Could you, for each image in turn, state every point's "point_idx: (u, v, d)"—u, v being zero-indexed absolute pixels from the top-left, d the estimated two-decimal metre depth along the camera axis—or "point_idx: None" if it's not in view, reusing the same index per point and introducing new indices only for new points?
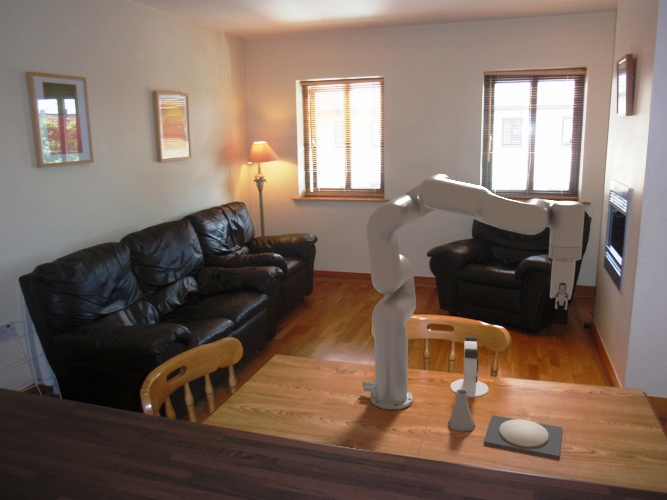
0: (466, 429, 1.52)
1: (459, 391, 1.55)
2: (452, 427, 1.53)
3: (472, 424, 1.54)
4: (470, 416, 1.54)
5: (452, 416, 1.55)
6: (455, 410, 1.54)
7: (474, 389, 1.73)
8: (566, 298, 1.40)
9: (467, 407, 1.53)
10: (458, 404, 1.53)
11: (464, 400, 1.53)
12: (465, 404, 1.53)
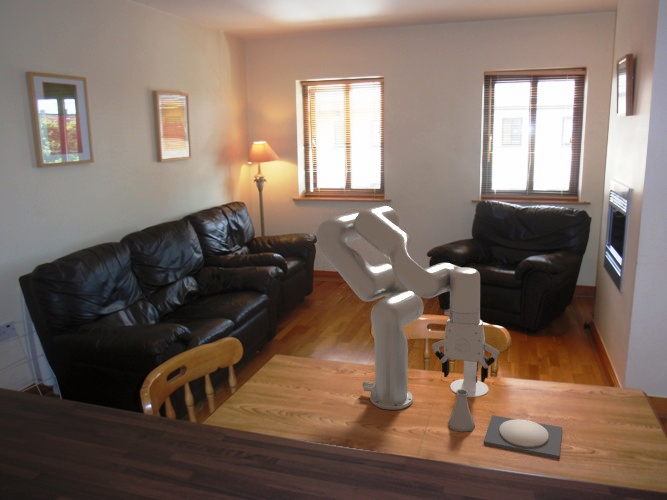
0: (466, 429, 1.52)
1: (459, 391, 1.55)
2: (452, 427, 1.53)
3: (472, 424, 1.54)
4: (470, 416, 1.54)
5: (452, 416, 1.55)
6: (455, 410, 1.54)
7: (474, 389, 1.73)
8: (483, 354, 1.50)
9: (467, 407, 1.53)
10: (458, 404, 1.53)
11: (464, 400, 1.53)
12: (465, 404, 1.53)
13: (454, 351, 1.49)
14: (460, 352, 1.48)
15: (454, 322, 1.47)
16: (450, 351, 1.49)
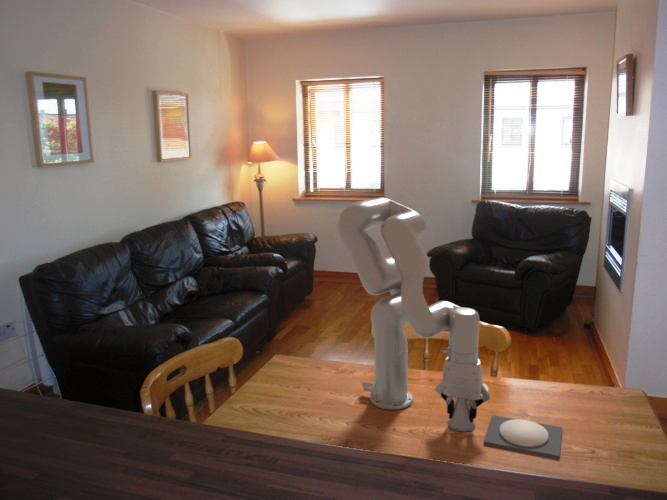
0: (466, 429, 1.52)
1: None
2: (452, 427, 1.53)
3: (472, 424, 1.54)
4: None
5: (452, 416, 1.55)
6: (455, 410, 1.54)
7: None
8: None
9: (467, 407, 1.53)
10: (458, 404, 1.53)
11: (464, 400, 1.53)
12: (465, 404, 1.53)
13: (452, 389, 1.51)
14: (458, 390, 1.51)
15: (452, 361, 1.49)
16: (448, 389, 1.52)
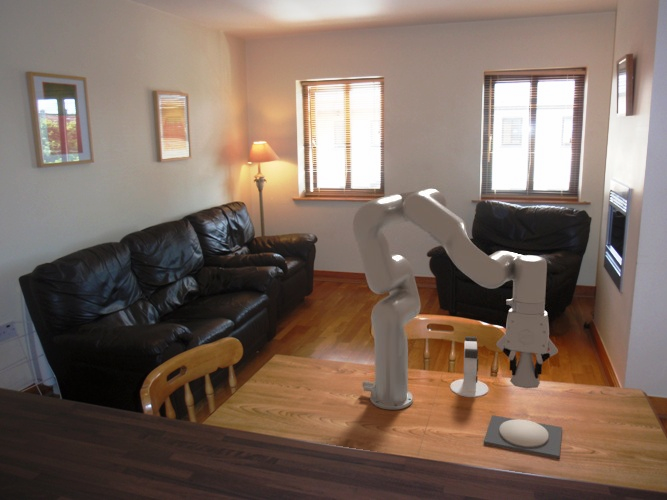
0: (531, 385, 1.43)
1: None
2: (516, 384, 1.44)
3: (537, 380, 1.44)
4: None
5: (515, 372, 1.45)
6: (519, 366, 1.44)
7: (474, 389, 1.73)
8: None
9: (532, 362, 1.44)
10: (522, 360, 1.44)
11: (529, 355, 1.43)
12: (530, 359, 1.43)
13: (516, 343, 1.42)
14: (523, 344, 1.41)
15: (518, 312, 1.40)
16: (512, 343, 1.42)
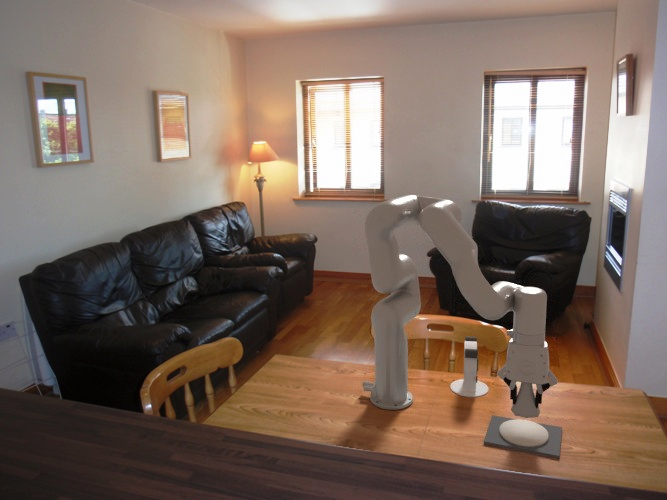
0: (532, 415, 1.44)
1: None
2: (516, 413, 1.45)
3: (538, 410, 1.46)
4: None
5: (516, 402, 1.47)
6: (519, 395, 1.46)
7: (474, 389, 1.73)
8: None
9: (532, 392, 1.45)
10: (522, 389, 1.45)
11: (529, 384, 1.45)
12: (530, 389, 1.45)
13: (517, 373, 1.43)
14: (523, 374, 1.43)
15: (518, 343, 1.41)
16: (512, 373, 1.44)
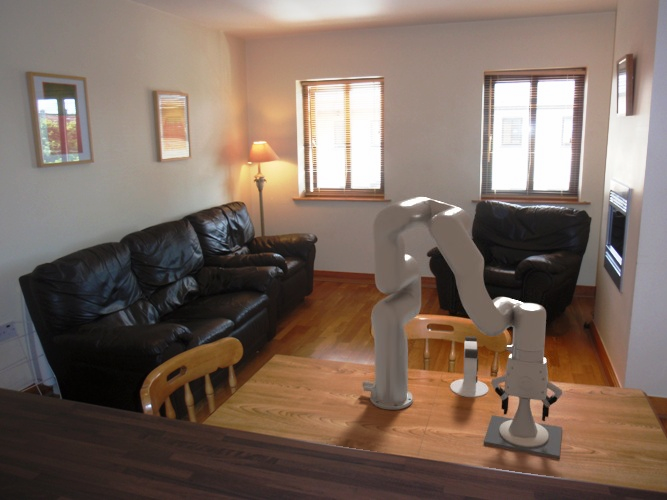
0: (529, 435, 1.46)
1: None
2: (514, 433, 1.47)
3: (535, 429, 1.47)
4: (533, 421, 1.47)
5: (514, 421, 1.48)
6: (517, 415, 1.47)
7: (474, 389, 1.73)
8: None
9: (530, 412, 1.47)
10: (520, 409, 1.47)
11: (527, 405, 1.46)
12: (528, 409, 1.46)
13: (516, 388, 1.44)
14: (522, 390, 1.44)
15: (517, 359, 1.42)
16: (511, 388, 1.45)
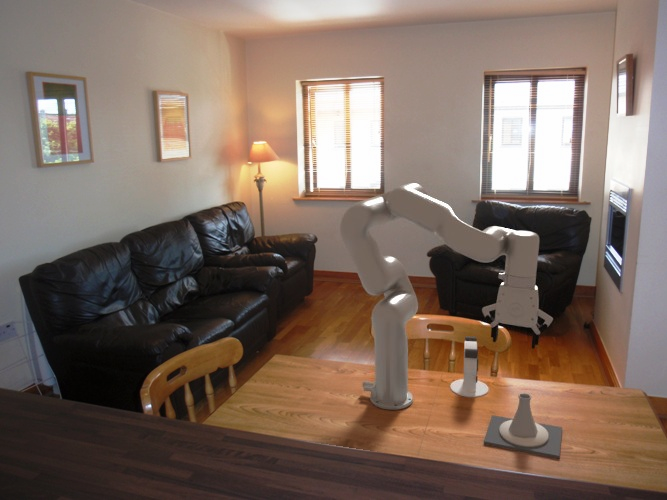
0: (529, 435, 1.46)
1: (521, 395, 1.48)
2: (514, 433, 1.47)
3: (535, 429, 1.47)
4: (533, 421, 1.47)
5: (514, 421, 1.48)
6: (517, 415, 1.47)
7: (474, 389, 1.73)
8: None
9: (530, 412, 1.47)
10: (520, 409, 1.47)
11: (527, 405, 1.46)
12: (528, 409, 1.46)
13: (506, 315, 1.45)
14: (512, 317, 1.45)
15: (509, 286, 1.43)
16: (502, 315, 1.46)
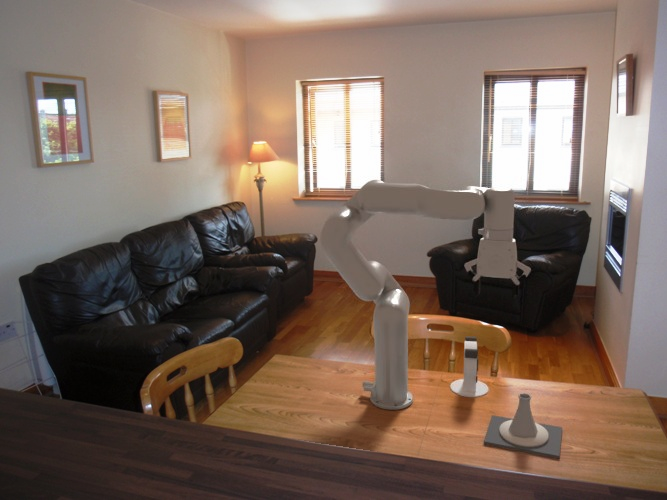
0: (529, 435, 1.46)
1: (521, 395, 1.48)
2: (514, 433, 1.47)
3: (535, 429, 1.47)
4: (533, 421, 1.47)
5: (514, 421, 1.48)
6: (517, 415, 1.47)
7: (474, 389, 1.73)
8: None
9: (530, 412, 1.47)
10: (520, 409, 1.47)
11: (527, 405, 1.46)
12: (528, 409, 1.46)
13: (487, 268, 1.54)
14: (493, 269, 1.53)
15: (488, 239, 1.51)
16: (483, 268, 1.54)
